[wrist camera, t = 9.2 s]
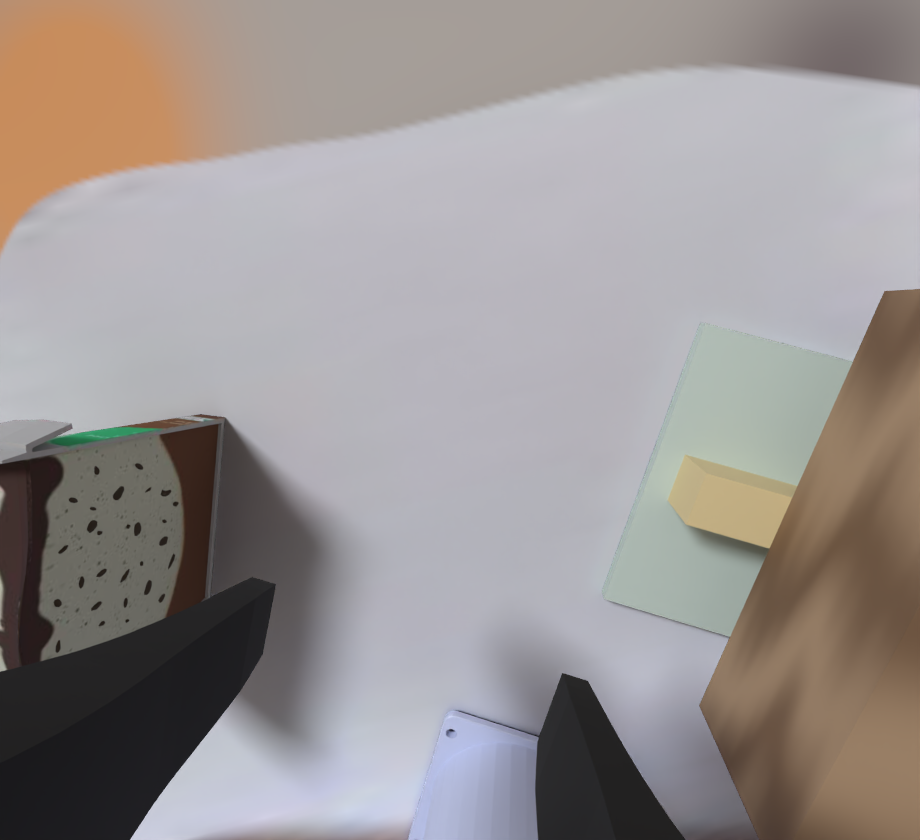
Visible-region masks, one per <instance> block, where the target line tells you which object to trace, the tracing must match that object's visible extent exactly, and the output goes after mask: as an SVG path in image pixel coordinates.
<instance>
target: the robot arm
mask: <svg viewBox="0 0 920 840" xmlns="http://www.w3.org/2000/svg"><path fill="white" fill-rule="evenodd" d="M275 586H276V584H273V583H270V582H266V581H263V580H260V579H257V578H253V577H252V578H250V579H248V580H245V581H243V582H241V583H239V584H237V585H235V586H233V587H231V588H229V589H227V590H225V591H223V592H221V593H219V594H217V595H214V596H212V597H210V598H208V599H206V600H204V601H202V602H200V603H198V604H195V605H193V606H191V607H189V608H187V609H185V610H183V611H180V612H178V613H176V614H174V615H171V616H169V617H167V618H164V619H162V620H159V621H157V622H155V623H152V624H150V625H147V626H145V627H143V628H140V629H138V630H135V631H133V632H131V633H128V634H125V635H123V636H120V637H117V638H114V639H112V640H109V641H106V642H103V643H100V644H97V645H94V646H91V647H88V648H85V649H82V650H79V651H76V652H72V653H69V654H66V655H62V656H58V657H54V658H51V659H47V660H43V661H40V662H36V663H32V664H29V665H25V666H21V667H17V668H13V669H9V670H5V671H0V840H130V839H131V837H132V836H133V834H134V833H135V831H136V830H137V828H138V827H139V825H140V824H141V822H142V821H143V819H144V818H145V816H146V815H147V813H148V811H149V810H150V808H151V807H152V805H153V804H154V802H155V801H156V800H157V798H158V797H159V796H160V794H161V793H162V792H163V790H164V789H165V787H166V786H167V785H168V783H169V782H170V781H171V779H172V778H173V777H174V776H175V774H176V773H177V772H178V770H179V769H180V768H181V767H182V765H183V764H184V763H185V762H186V760H187V759H188V758H189V756H190V755H191V754H192V753H193V751H194V750H195V749H196V747H197V746H198V745H199V744H200V742H201V741H202V740H203V739H204V737H205V736H206V735H207V733H208V732H209V731H210V730H211V728H212V727H213V726H214V725H215V723H216V722H217V721H218V719H219V718H220V717H221V716H222V714H223V713H224V712H225V710H226V709H227V708H228V707H229V705H230V704H231V703H232V701H233V700H234V699H235V697H236V696H237V695H238V693H239V692H240V690H241V689H242V687H243V686H244V684H245V682H246V681H247V679H248V678H249V676H250V674H251V673H252V671H253V669H254V668H255V666H256V664H257V663H258V661H259V659H260V658H261V656H262V654H263V649H264V644H265V639H266V634H267V628H268V623H269V618H270V613H271V607H272V602H273V597H274V591H275ZM448 729H453V730H455V732H451V731H449V730H448ZM408 840H685V839H684V837H683V836H682V834H681V833H680V832H679V830H678V829H677V828H676V826H675V825H674V824H673V822H672V821H671V819H670V818H669V817H668V815H667V814H666V812H665V811H664V809H663V808H662V806H661V805H660V803H659V802H658V800H657V799H656V797H655V796H654V794H653V793H652V791H651V790H650V788H649V787H648V785H647V784H646V782H645V781H644V779H643V777H642V776H641V774H640V773H639V771H638V769H637V768H636V766H635V764H634V763H633V761H632V759H631V758H630V756H629V754H628V753H627V751H626V749H625V748H624V746H623V744H622V742H621V741H620V739H619V737H618V735H617V734H616V732H615V730H614V728H613V726H612V725H611V723H610V721H609V719H608V717H607V716H606V714H605V712H604V710H603V708H602V706H601V705H600V703H599V701H598V699H597V697H596V695H595V693H594V692H593V690H592V688H591V686H590V684H589V683H588V681H586V680H583V679H580V678H576V677H573V676H570V675H567V674H563V673H562V675H561V678H560V681H559V684H558V686H557V689H556V692H555V695H554V697H553V700H552V703H551V706H550V708H549V711H548V714H547V717H546V719H545V722H544V725H543V728H542V730H541V733H540V736H539V737H537V736H533V735H530V734H527V733H524V732H521V731H518V730H515V729H512V728H509V727H505V726H502V725H499V724H496V723H493V722H490V721H487V720H484V719H480V718H477V717H474V716H471V715H468V714H465V713H462V712H459V711H449V712H448V713H447V714H446V715H445V718H444V721H443V724H442V728H441V731H440V734H439V738H438V741H437V744H436V747H435V751H434V754H433V757H432V761H431V764H430V767H429V770H428V774H427V777H426V780H425V784H424V787H423V790H422V794H421V797H420V800H419V803H418V807H417V810H416V813H415V817H414V820H413V823H412V827H411V830H410V833H409V836H408Z"/></svg>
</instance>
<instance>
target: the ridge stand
mask: <svg viewBox="0 0 920 840" xmlns="http://www.w3.org/2000/svg"><path fill="white" fill-rule="evenodd" d="M852 363H853V362H852V361H848V360H844V359H840V358H837V357H833V356H829V355H825V354H821V353H817V352H814V351H810V350H806V349H802V348H798V347H795V346H791V345H787V344H783V343H779V342H775V341H772V340H768V339H764V338H760V337H756V336H753V335H749V334H745V333H741V332H737V331H733V330H730V329H726V328H722V327H718V326H714V325H711V324H707V323H700V326H699V328H698V331H697V334H696V336H695V339H694V342H693V345H692V347H691V350H690V353H689V356H688V358H687V361H686V364H685V366H684V369H683V372H682V375H681V377H680V380H679V383H678V386H677V388H676V391H675V394H674V396H673V399H672V402H671V405H670V407H669V410H668V413H667V416H666V418H665V421H664V424H663V426H662V429H661V432H660V435H659V437H658V440H657V443H656V446H655V448H654V451H653V454H652V456H651V459H650V462H649V465H648V467H647V470H646V473H645V475H644V478H643V481H642V484H641V486H640V489H639V492H638V495H637V497H636V500H635V503H634V505H633V508H632V511H631V514H630V516H629V519H628V522H627V525H626V527H625V530H624V533H623V535H622V538H621V541H620V544H619V546H618V549H617V552H616V555H615V557H614V560H613V563H612V565H611V568H610V571H609V574H608V576H607V579H606V582H605V585H604V587H603V590H602V594H603V597H604V599H605V600H608V601H612V602H615V603H618V604H622V605H625V606H628V607H632V608H635V609H638V610H642V611H645V612H648V613H652V614H655V615H658V616H662V617H665V618H668V619H672V620H675V621H678V622H682V623H685V624H688V625H692V626H695V627H698V628H702V629H705V630H708V631H712V632H715V633H718V634H722V635H725V636H728V637H730V636H731V634H732V631H733V629H734V627H735V625H736V622H737V620H738V618H739V616H740V613H741V611H742V609H743V607H744V604H745V602H746V600H747V598H748V596H749V593H750V591H751V589H752V587H753V584H754V582H755V580H756V578H757V575H758V573H759V571H760V569H761V566H762V564H763V562H764V560H765V557H766V555H767V553H768V551H769V549H770V546H771V544H772V542H773V540H774V537H775V535H776V533H777V531H778V528H779V526H780V524H781V522H782V519H783V517H784V515H785V513H786V511H787V508H788V506H789V504H790V502H791V499H792V497H793V495H794V493H795V490H796V488H797V486H798V484H799V481H800V479H801V477H802V475H803V473H804V470H805V468H806V466H807V464H808V461H809V459H810V457H811V455H812V452H813V450H814V448H815V446H816V443H817V441H818V439H819V437H820V434H821V432H822V430H823V428H824V426H825V423H826V421H827V419H828V417H829V414H830V412H831V410H832V408H833V405H834V403H835V401H836V399H837V396H838V394H839V392H840V390H841V388H842V385H843V383H844V381H845V379H846V376H847V374H848V372H849V370H850V367H851V365H852Z"/></svg>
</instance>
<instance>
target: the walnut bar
mask: <svg viewBox="0 0 920 840" xmlns="http://www.w3.org/2000/svg"><path fill="white" fill-rule="evenodd" d="M699 706H700V708H701V711H702V713H703V715H704V717H705V720H706V722H707V724H708V726H709V728H710V731H711V733H712V735H713V737H714V740H715V742H716V744H717V746H718V749H719V751H720V753H721V755H722V758H723V760H724V762H725V764H726V767H727V769H728V771H729V773H730V775H731V778H732V780H733V782H734V784H735V787H736V789H737V791H738V793H739V796H740V798H741V800H742V802H743V805H744V807H745V809H746V811H747V813H748V816H749V818H750V820H751V822H752V825H753V827H754V829H755V831H756V834H757V836H758V838H759V840H920V289H914V290H897V291H884V294H883V296H882V298H881V300H880V303H879V305H878V307H877V309H876V311H875V314H874V316H873V318H872V320H871V323H870V325H869V327H868V329H867V332H866V334H865V336H864V338H863V341H862V343H861V345H860V347H859V350H858V352H857V354H856V356H855V358H854V361H853V363H852V365H851V367H850V370H849V372H848V374H847V376H846V379H845V381H844V383H843V385H842V388H841V390H840V392H839V394H838V396H837V399H836V401H835V403H834V405H833V408H832V410H831V412H830V414H829V417H828V419H827V421H826V423H825V426H824V428H823V430H822V432H821V434H820V437H819V439H818V441H817V443H816V446H815V448H814V450H813V452H812V455H811V457H810V459H809V461H808V464H807V466H806V468H805V470H804V473H803V475H802V477H801V479H800V481H799V484H798V486H797V488H796V490H795V493H794V495H793V497H792V499H791V502H790V504H789V506H788V508H787V511H786V513H785V515H784V517H783V519H782V522H781V524H780V526H779V528H778V531H777V533H776V535H775V537H774V540H773V542H772V544H771V546H770V549H769V551H768V553H767V555H766V557H765V560H764V562H763V564H762V566H761V569H760V571H759V573H758V575H757V578H756V580H755V582H754V584H753V587H752V589H751V591H750V593H749V596H748V598H747V600H746V602H745V604H744V607H743V609H742V611H741V613H740V616H739V618H738V620H737V622H736V625H735V627H734V629H733V631H732V634H731V636H730V638H729V640H728V642H727V645H726V647H725V649H724V651H723V654H722V656H721V658H720V660H719V663H718V665H717V667H716V669H715V672H714V674H713V676H712V678H711V680H710V683H709V685H708V687H707V689H706V692H705V694H704V696H703V698H702V701H701V703H700V705H699Z"/></svg>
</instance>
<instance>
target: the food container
mask: <svg viewBox="0 0 920 840" xmlns="http://www.w3.org/2000/svg"><path fill="white" fill-rule="evenodd" d="M224 424H225V417H217V416H210V415H202V414H200V415H194V416H187V417H181V418H174V419H167V420H161V421H154V422H148V423H141V424H135V425H128V426H122V427H115V428H108V429H102V430H95V431H89V432H82V433H76V434H69V435H63V436H58V435H60V434H62V433H64V432H66V431H68V430H70V429H72V424H71V423H64V422H56V421H49V420H13V421H8V422H4V423H0V671H5V670H9V669H13V668H17V667H21V666H25V665H29V664H32V663H36V662H40V661H43V660H47V659H51V658H54V657H58V656H62V655H66V654H69V653H72V652H76V651H79V650H82V649H85V648H88V647H91V646H94V645H97V644H100V643H103V642H106V641H109V640H112V639H114V638H117V637H120V636H123V635H125V634H128V633H131V632H133V631H135V630H138V629H140V628H143V627H145V626H147V625H150V624H152V623H155V622H157V621H159V620H162V619H164V618H167V617H169V616H171V615H174V614H176V613H178V612H180V611H183V610H185V609H187V608H189V607H191V606H193V605H195V604H198V603H200V602H202V601H204V600H206V599H208V598H210V594H211V582H212V570H213V558H214V545H215V533H216V521H217V509H218V497H219V485H220V473H221V460H222V448H223V436H224Z"/></svg>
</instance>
